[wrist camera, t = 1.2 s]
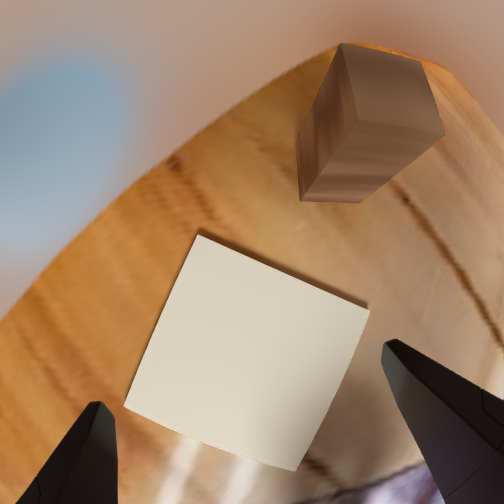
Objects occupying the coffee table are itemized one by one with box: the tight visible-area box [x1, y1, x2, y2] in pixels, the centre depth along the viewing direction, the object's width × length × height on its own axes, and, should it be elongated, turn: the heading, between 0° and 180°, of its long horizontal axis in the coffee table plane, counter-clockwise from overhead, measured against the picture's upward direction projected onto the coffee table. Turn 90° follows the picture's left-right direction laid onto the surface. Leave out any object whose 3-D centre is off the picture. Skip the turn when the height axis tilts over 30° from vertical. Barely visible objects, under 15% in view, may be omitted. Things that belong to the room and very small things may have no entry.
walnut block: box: [296, 43, 445, 203], centre depth 19 cm, size 5×5×12 cm
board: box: [124, 235, 371, 472], centre depth 22 cm, size 14×14×1 cm
